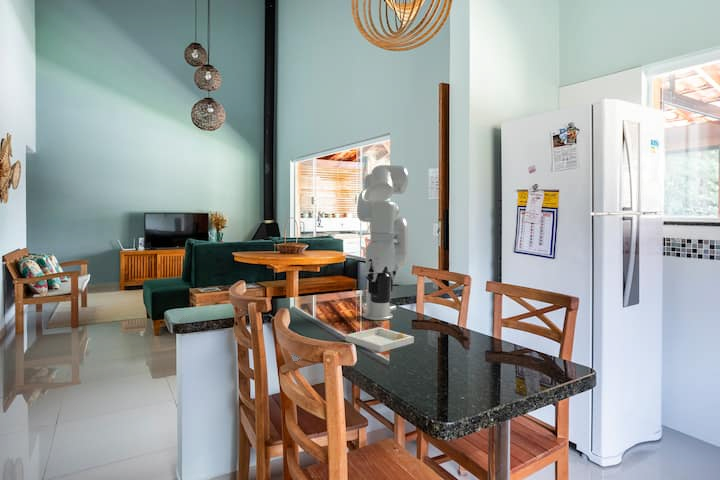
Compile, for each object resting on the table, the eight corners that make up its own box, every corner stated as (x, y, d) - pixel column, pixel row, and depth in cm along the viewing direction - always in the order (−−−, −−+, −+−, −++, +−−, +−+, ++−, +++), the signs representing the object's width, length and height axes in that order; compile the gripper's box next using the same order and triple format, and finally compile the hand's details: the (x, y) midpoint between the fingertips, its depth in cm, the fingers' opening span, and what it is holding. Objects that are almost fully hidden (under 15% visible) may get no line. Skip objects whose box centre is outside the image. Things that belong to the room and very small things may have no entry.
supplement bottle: (378, 298, 155) (379, 263, 154) (394, 301, 150) (395, 265, 150) (365, 301, 149) (366, 265, 149) (382, 304, 145) (383, 267, 144)
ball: (400, 340, 152) (400, 331, 152) (407, 342, 150) (407, 333, 150) (394, 342, 150) (394, 333, 150) (401, 344, 148) (401, 335, 148)
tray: (378, 335, 162) (379, 327, 162) (413, 345, 150) (414, 336, 150) (345, 343, 151) (345, 334, 151) (380, 355, 139) (380, 345, 139)
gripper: (391, 237, 157) (389, 288, 158) (354, 238, 145) (353, 293, 146) (407, 238, 152) (406, 291, 153) (371, 239, 140) (369, 296, 141)
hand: (380, 291), depth 150 cm, fingers closed on supplement bottle, 6 cm apart
